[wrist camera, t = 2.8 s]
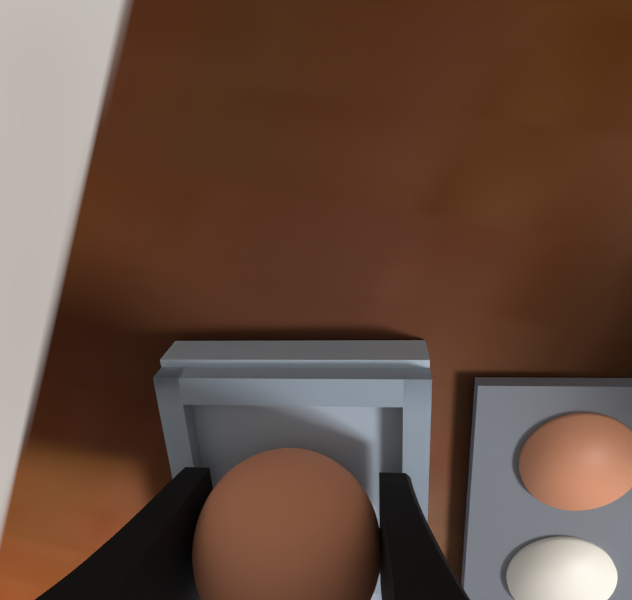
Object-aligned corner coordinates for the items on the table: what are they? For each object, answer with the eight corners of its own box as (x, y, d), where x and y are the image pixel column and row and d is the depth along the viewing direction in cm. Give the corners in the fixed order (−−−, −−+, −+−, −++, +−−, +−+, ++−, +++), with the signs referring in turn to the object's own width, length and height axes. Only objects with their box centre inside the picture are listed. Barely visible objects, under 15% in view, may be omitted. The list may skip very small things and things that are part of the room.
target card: (698, 378, 12) (712, 391, 11) (637, 621, 15) (646, 640, 14) (474, 377, 12) (479, 389, 12) (459, 611, 15) (462, 628, 15)
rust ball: (379, 413, 12) (382, 557, 8) (381, 543, 13) (384, 716, 10) (212, 411, 12) (143, 546, 9) (231, 537, 14) (179, 698, 10)
